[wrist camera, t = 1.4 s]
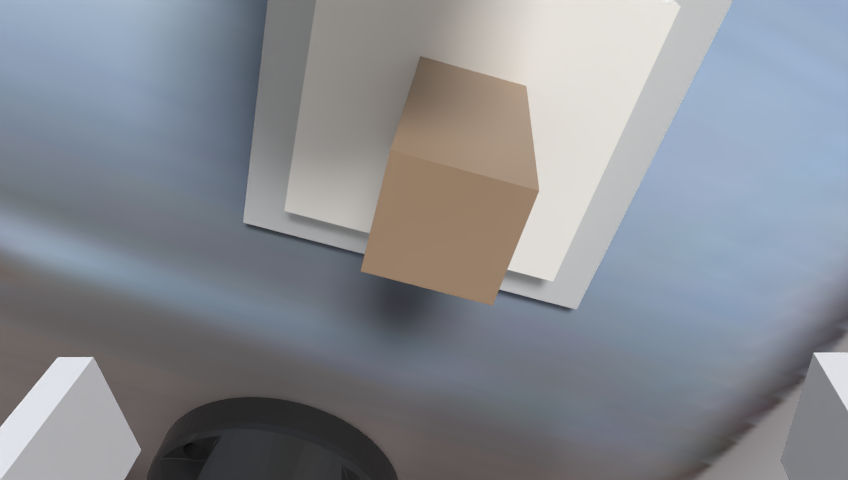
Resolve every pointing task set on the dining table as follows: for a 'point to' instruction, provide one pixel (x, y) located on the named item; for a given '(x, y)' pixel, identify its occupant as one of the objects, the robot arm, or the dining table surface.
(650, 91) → the mat
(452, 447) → the dining table surface
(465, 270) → the square plate with block
